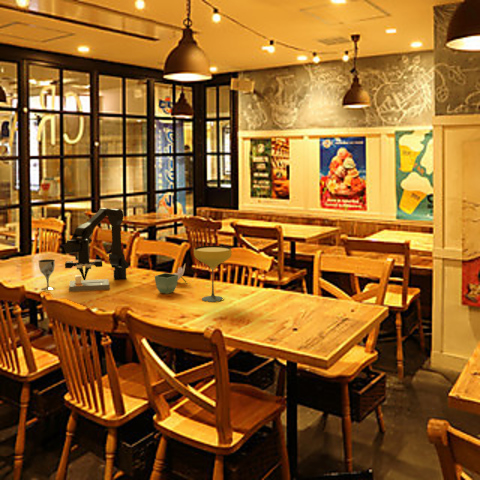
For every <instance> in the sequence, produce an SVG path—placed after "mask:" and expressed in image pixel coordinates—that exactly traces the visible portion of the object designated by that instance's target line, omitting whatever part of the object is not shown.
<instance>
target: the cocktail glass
mask: <svg viewBox="0 0 480 480" xmlns="http://www.w3.org/2000/svg"><path fill="white" fill-rule="evenodd" d="M193 256H194V258H195V259H197V260H198V261H199V262H201V263H203V264H205V265H207V266H208V267H209V269H210V270H211V272H212V273H211V295H208V296H204V297H202V298H201V300H202V302H206V301H208V302H207V303H217V302H216V301H219V302H221V301H220V300H222V299H223V298H224V297H223V296H221V295H215V288H214V270H215V269H216V268H217V267H218V266H219V265H220V264H223V263H224V262H226V261H228V260H229V259H230V258H231V257H232V248H231V247H229V246H225V245H224V246H222V245H221V246H220V245H203V246H197V247H195V248H194V249H193ZM222 297H223V298H222Z"/></svg>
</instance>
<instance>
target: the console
mask: <svg viewBox="0 0 480 480" xmlns="http://www.w3.org/2000/svg"><path fill="white" fill-rule="evenodd" d="M81 280H82V283H81V284H75V280H69V285H68V286H69V287H68V290H69V293H70V292H87V291H104V290H110V280H109V278H104V279H103V278H102V279H100V278H99V279H85V280H83V279H81Z"/></svg>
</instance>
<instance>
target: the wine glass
mask: <svg viewBox="0 0 480 480" xmlns="http://www.w3.org/2000/svg"><path fill="white" fill-rule="evenodd" d="M55 263H56V261H55V259H52V258H51V259H50V258H48V259H47V258H46V259H41V260H40V259H39V260H38V268H39V271H40V273H41V274H42V275H43V276H44V277H45V280H46V286H45V287H42V288H40V290H41V291H52V290H55V289H56V288H55V287H53V286H50V284H49V283H50V279H49V278H50V276H52V274H53V273H54V271H55V267H56V264H55Z"/></svg>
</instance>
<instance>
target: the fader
mask: <svg viewBox="0 0 480 480" xmlns="http://www.w3.org/2000/svg"><path fill="white" fill-rule="evenodd" d="M74 279H75V280H74V281H75V284H81V283H82V280H83V279H82V275H81V274H75V276H74Z"/></svg>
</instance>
